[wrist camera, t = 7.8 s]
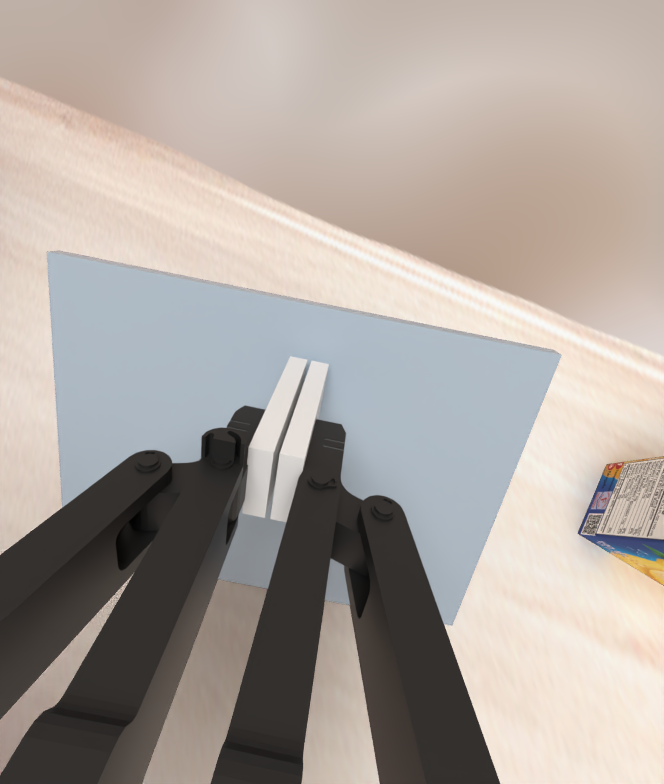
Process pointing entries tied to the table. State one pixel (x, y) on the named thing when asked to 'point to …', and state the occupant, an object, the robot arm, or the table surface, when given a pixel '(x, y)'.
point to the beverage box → (630, 515)
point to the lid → (257, 384)
